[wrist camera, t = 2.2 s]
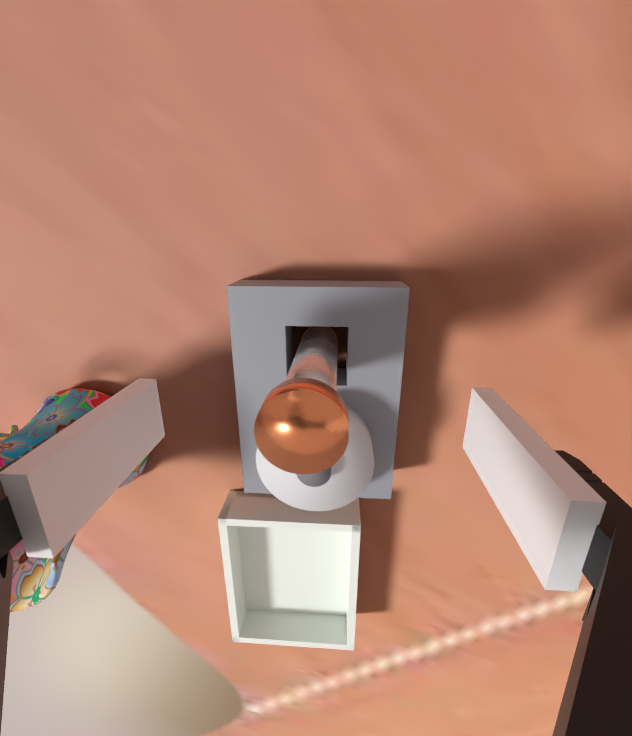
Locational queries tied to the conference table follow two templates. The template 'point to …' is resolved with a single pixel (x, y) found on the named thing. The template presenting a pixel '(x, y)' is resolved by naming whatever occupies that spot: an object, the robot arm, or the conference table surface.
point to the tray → (290, 571)
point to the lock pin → (305, 410)
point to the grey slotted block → (354, 383)
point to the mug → (53, 416)
